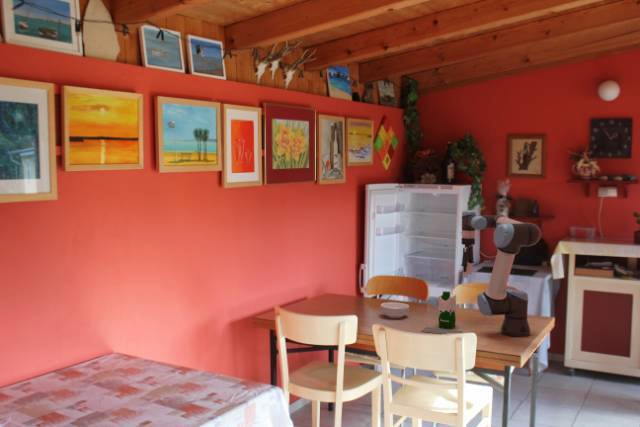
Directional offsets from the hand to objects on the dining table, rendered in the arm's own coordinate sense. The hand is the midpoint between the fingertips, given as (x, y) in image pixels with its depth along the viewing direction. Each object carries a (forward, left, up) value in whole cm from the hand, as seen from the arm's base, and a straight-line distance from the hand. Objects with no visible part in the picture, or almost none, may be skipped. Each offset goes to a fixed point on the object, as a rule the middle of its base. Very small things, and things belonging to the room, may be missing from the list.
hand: (467, 275), depth 363 cm
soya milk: (+6, +20, -26) cm, 33 cm away
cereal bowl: (+40, +11, -26) cm, 49 cm away
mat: (+6, +31, -26) cm, 41 cm away
